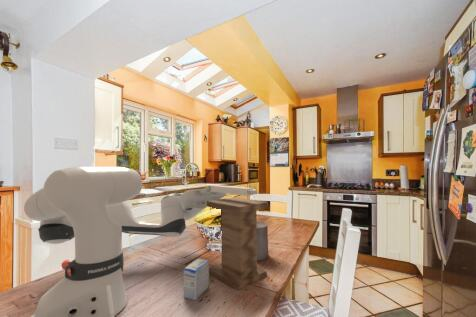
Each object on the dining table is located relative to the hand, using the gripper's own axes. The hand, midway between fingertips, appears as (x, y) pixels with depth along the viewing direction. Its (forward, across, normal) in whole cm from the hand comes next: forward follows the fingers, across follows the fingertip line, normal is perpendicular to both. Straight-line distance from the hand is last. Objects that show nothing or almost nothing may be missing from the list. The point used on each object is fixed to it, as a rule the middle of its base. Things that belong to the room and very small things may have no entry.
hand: (214, 187), depth 92 cm
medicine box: (-3, +17, -33) cm, 38 cm away
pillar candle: (-9, -17, -30) cm, 36 cm away
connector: (+7, 0, -6) cm, 10 cm away
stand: (-3, 0, -33) cm, 33 cm away
